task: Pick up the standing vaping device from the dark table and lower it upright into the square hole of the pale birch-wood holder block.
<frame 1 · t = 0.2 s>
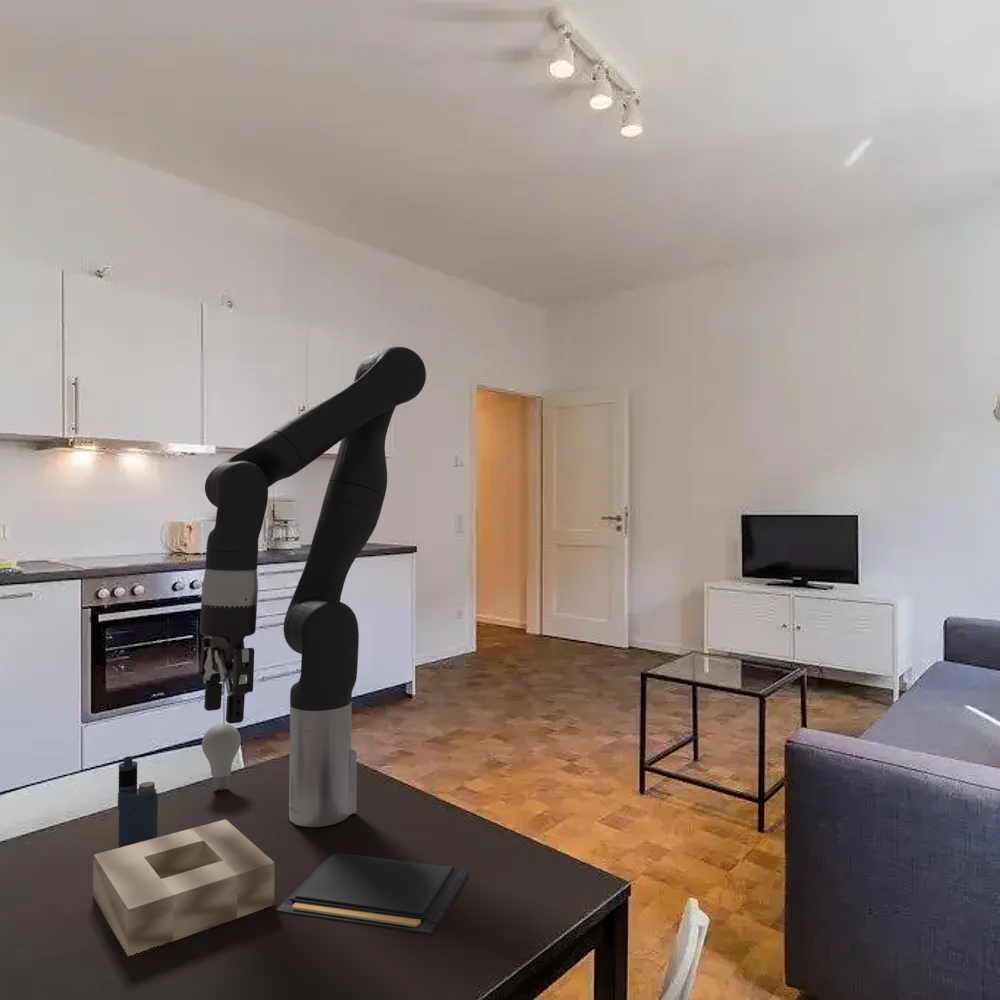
hand: (223, 715, 105), 18 cm above the table, tool pointing down, fingers open, 8 cm apart
holder block: (182, 900, 89), on the table
lightbulb: (221, 791, 123), on the table
black book: (376, 898, 91), on the table
vaping device: (137, 844, 104), on the table
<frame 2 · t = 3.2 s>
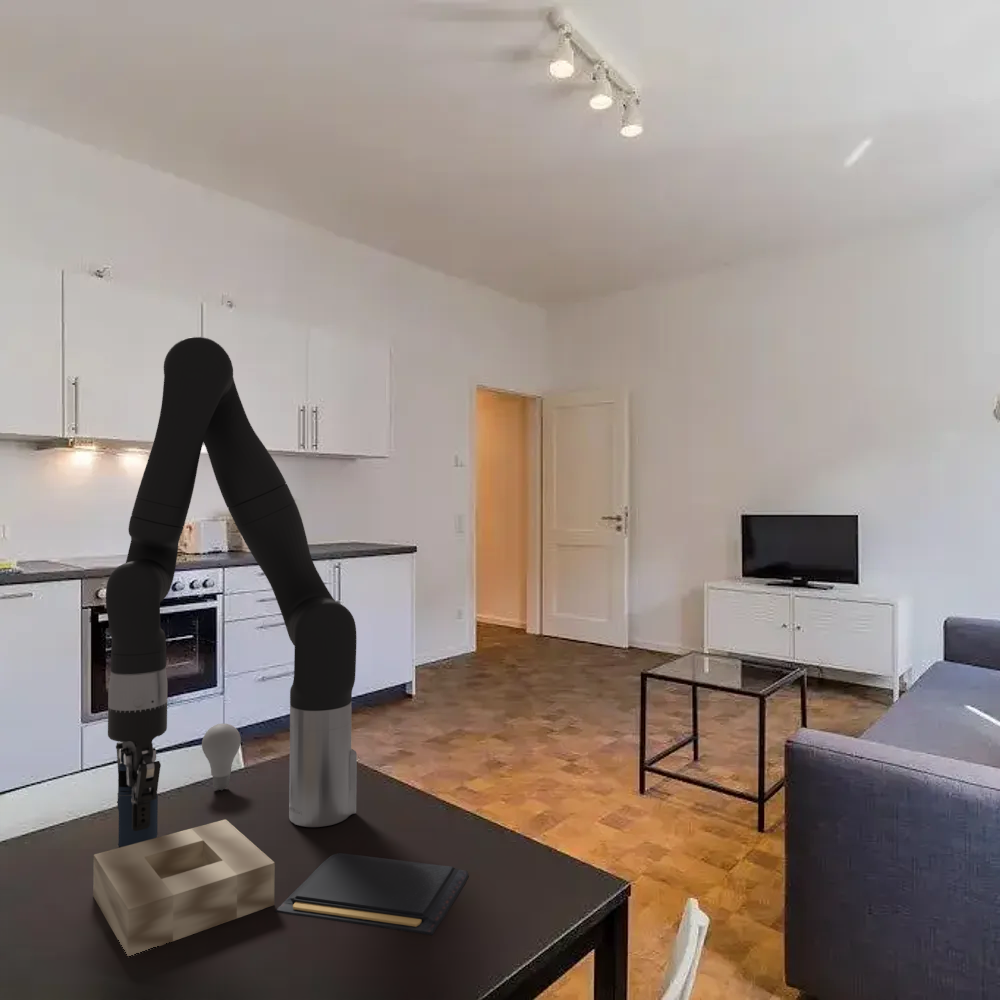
hand: (136, 822, 104), 3 cm above the table, tool pointing down, fingers closed on vaping device, 3 cm apart
vaping device: (137, 844, 104), on the table, touching gripper
everything else where it was.
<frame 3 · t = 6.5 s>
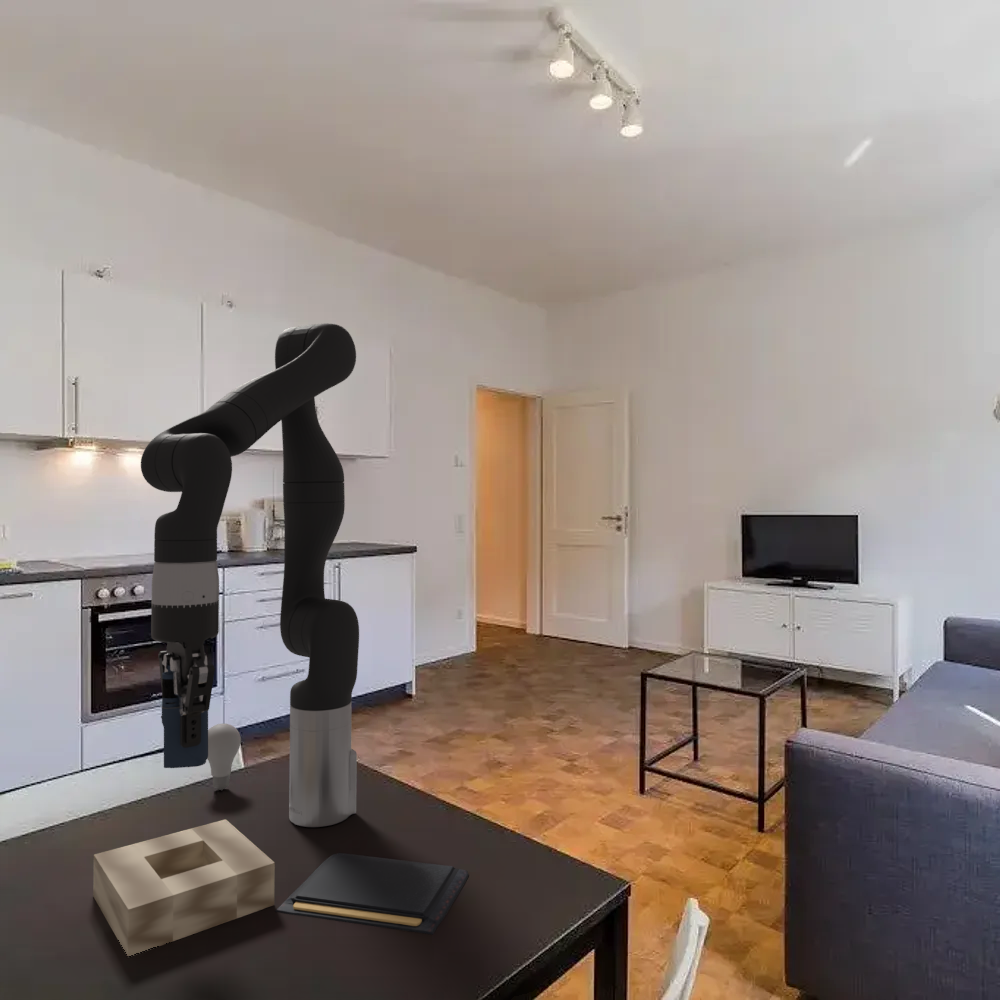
hand: (184, 740, 89), 19 cm above the table, tool pointing down, fingers closed on vaping device, 3 cm apart
vaping device: (185, 766, 89), point 16 cm above the table, touching gripper
everything else where it was.
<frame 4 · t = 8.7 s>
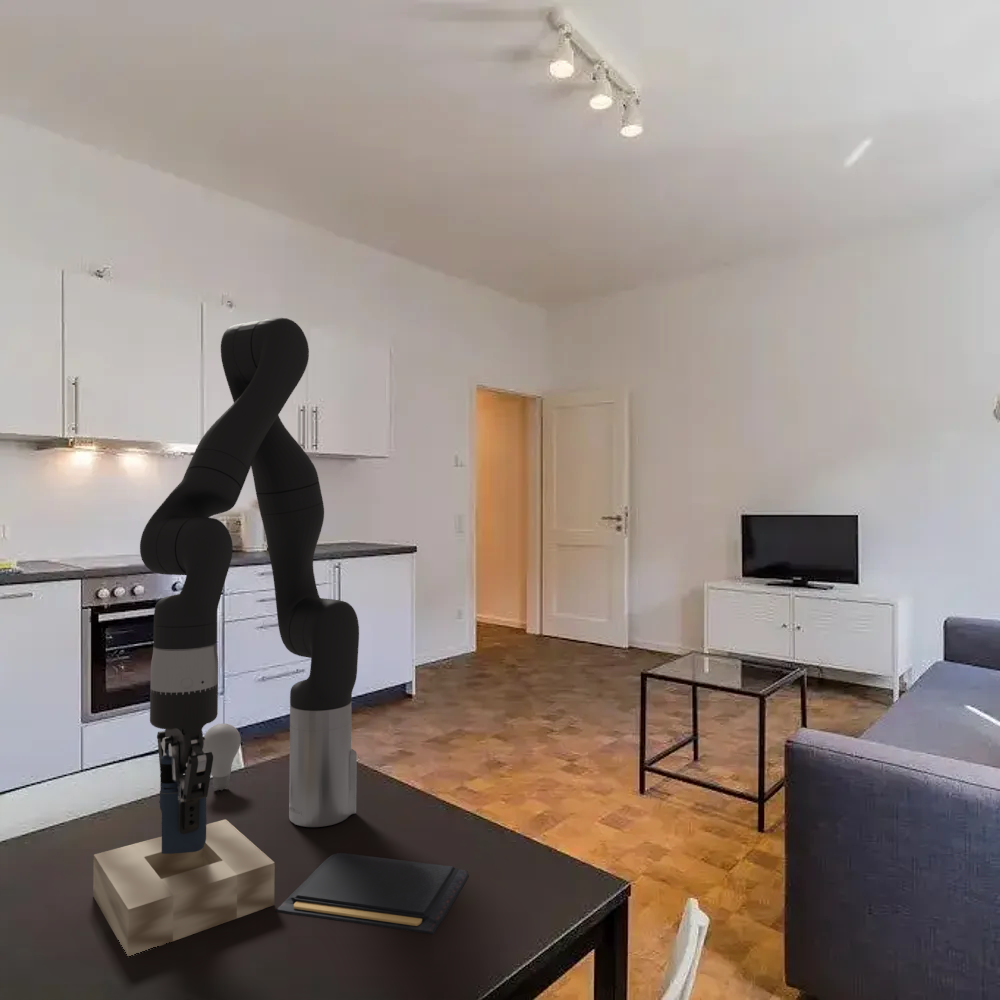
hand: (182, 825, 89), 9 cm above the table, tool pointing down, fingers closed on vaping device, 3 cm apart
vaping device: (182, 850, 89), point 6 cm above the table, touching gripper
everything else where it was.
when the fingers open (5 cm above the table, at t = 10.1 s): vaping device drops 2 cm, resting in holder block.
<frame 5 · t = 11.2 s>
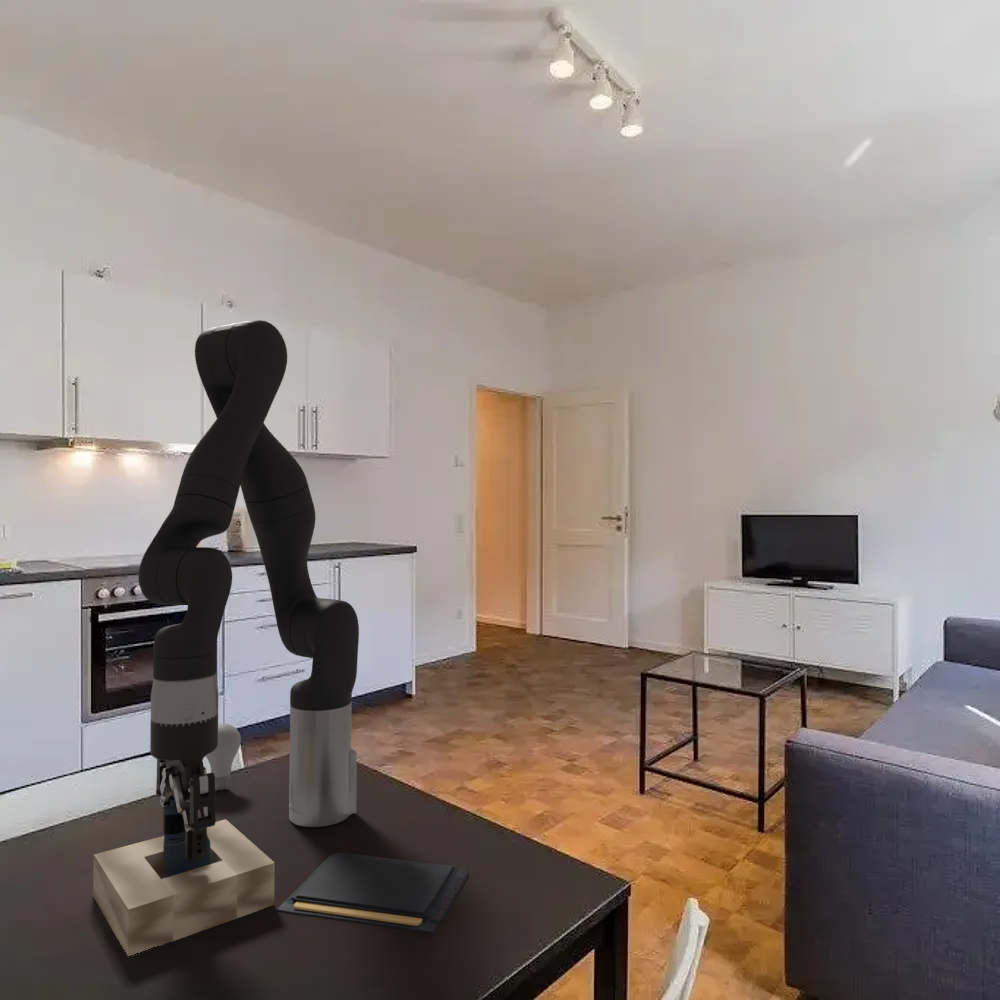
hand: (183, 847, 89), 6 cm above the table, tool pointing down, fingers open, 8 cm apart
vaping device: (186, 902, 88), resting in holder block
everything else where it was.
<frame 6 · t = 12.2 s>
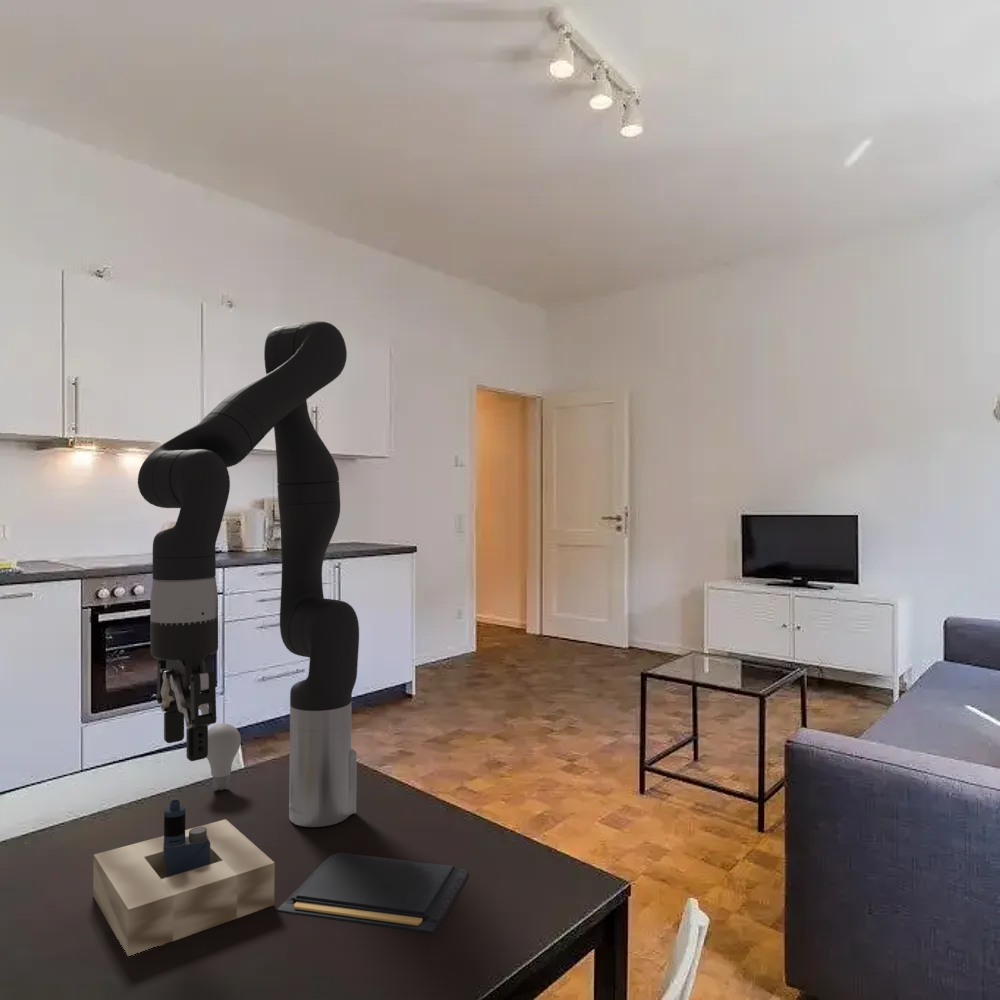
hand: (185, 749, 89), 18 cm above the table, tool pointing down, fingers open, 8 cm apart
nothing on the table moved.
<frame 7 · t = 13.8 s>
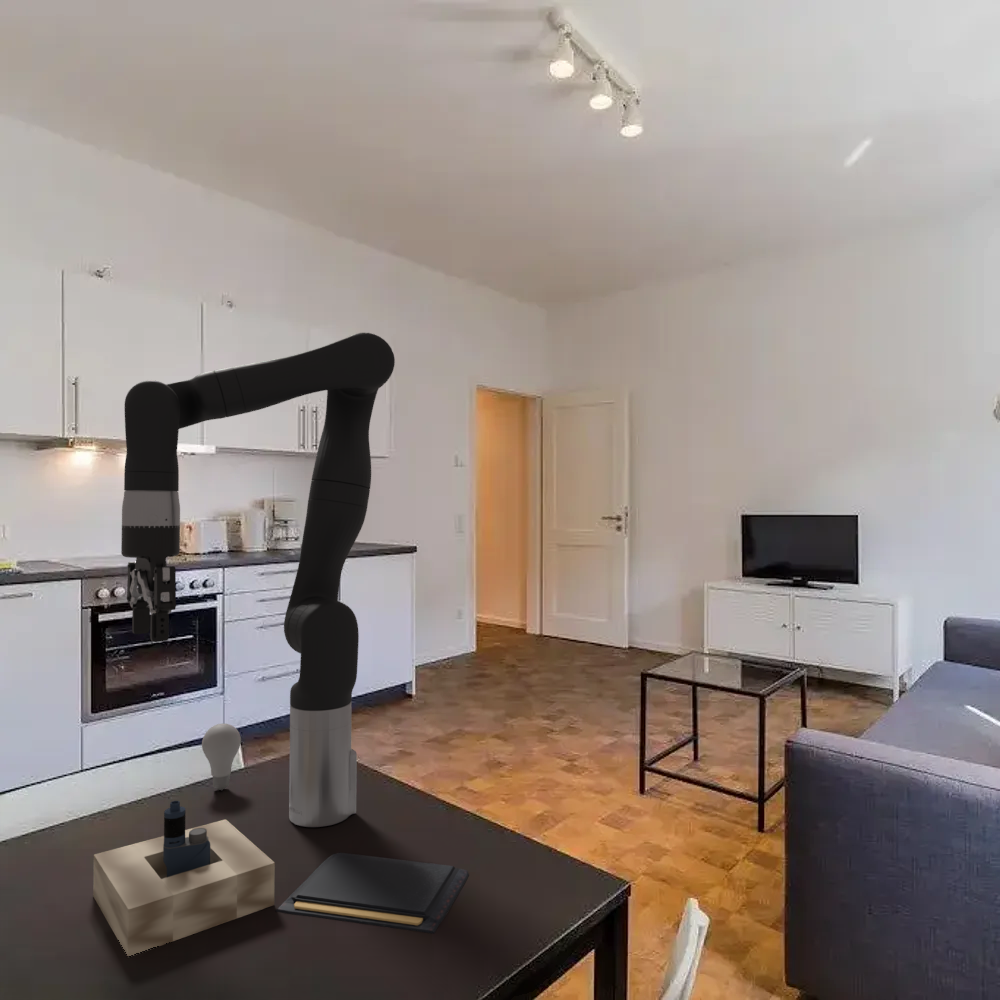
hand: (149, 637, 105), 29 cm above the table, tool pointing down, fingers open, 8 cm apart
nothing on the table moved.
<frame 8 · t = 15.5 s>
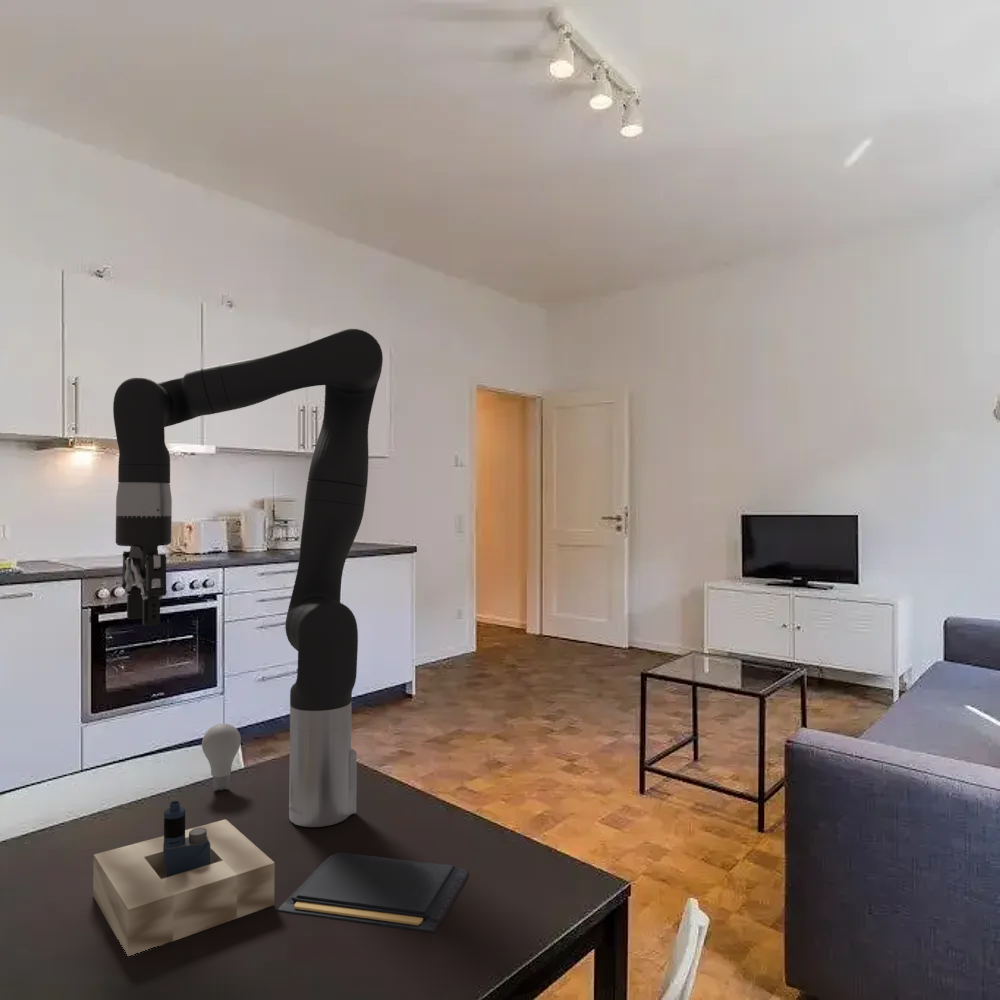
hand: (143, 622, 110), 30 cm above the table, tool pointing down, fingers open, 8 cm apart
nothing on the table moved.
at the end: vaping device 0.6 cm off-centre on the holder block, point 0.0 cm above the holder block's base; vaping device tilted 0° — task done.
